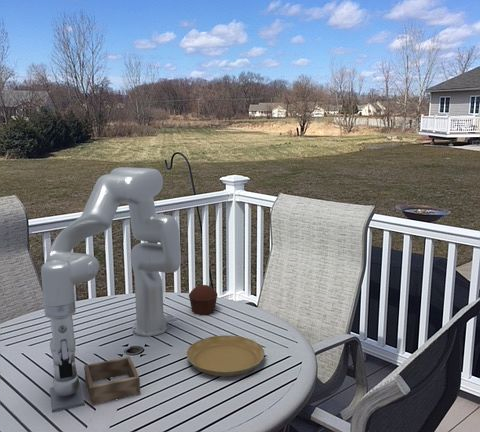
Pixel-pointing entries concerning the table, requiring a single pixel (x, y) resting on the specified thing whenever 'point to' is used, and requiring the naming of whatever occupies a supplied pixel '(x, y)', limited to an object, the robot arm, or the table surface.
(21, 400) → the table surface
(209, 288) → the muffin
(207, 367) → the plant saucer
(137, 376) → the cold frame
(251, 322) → the table surface
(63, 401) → the slate tile
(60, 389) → the plastic bottle
